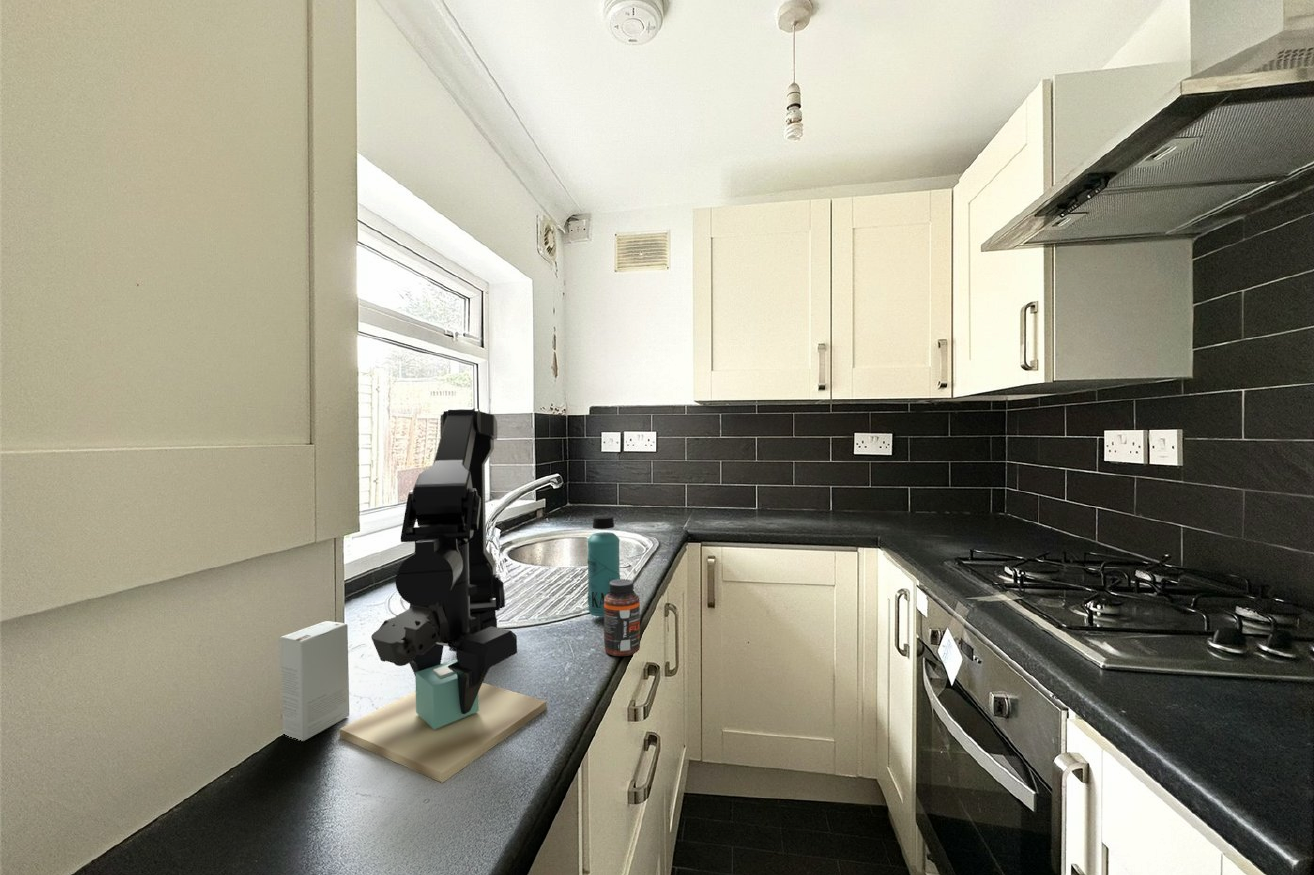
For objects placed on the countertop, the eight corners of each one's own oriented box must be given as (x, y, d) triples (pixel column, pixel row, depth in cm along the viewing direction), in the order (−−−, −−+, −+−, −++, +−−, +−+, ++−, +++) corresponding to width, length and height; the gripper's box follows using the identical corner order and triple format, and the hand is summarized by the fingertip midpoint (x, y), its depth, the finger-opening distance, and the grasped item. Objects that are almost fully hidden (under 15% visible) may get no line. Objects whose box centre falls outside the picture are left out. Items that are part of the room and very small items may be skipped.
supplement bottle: (635, 659, 81) (634, 587, 81) (599, 657, 82) (598, 586, 82) (644, 644, 87) (642, 577, 87) (610, 642, 88) (609, 576, 88)
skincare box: (327, 711, 67) (326, 618, 67) (351, 717, 65) (350, 622, 65) (277, 737, 61) (276, 635, 61) (303, 744, 60) (301, 640, 60)
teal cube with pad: (433, 729, 60) (433, 684, 60) (416, 712, 64) (415, 670, 64) (478, 711, 64) (477, 668, 64) (459, 696, 68) (458, 656, 68)
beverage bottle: (603, 611, 104) (601, 512, 104) (628, 617, 100) (626, 515, 100) (580, 620, 99) (578, 517, 99) (606, 627, 95) (604, 519, 95)
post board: (339, 737, 61) (339, 699, 61) (451, 680, 75) (450, 649, 75) (442, 783, 52) (441, 738, 52) (546, 709, 66) (545, 674, 66)
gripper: (334, 589, 61) (336, 720, 61) (441, 611, 52) (444, 764, 52) (417, 567, 71) (419, 680, 71) (519, 583, 62) (521, 712, 62)
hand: (447, 706), depth 64 cm, fingers closed on teal cube with pad, 6 cm apart
